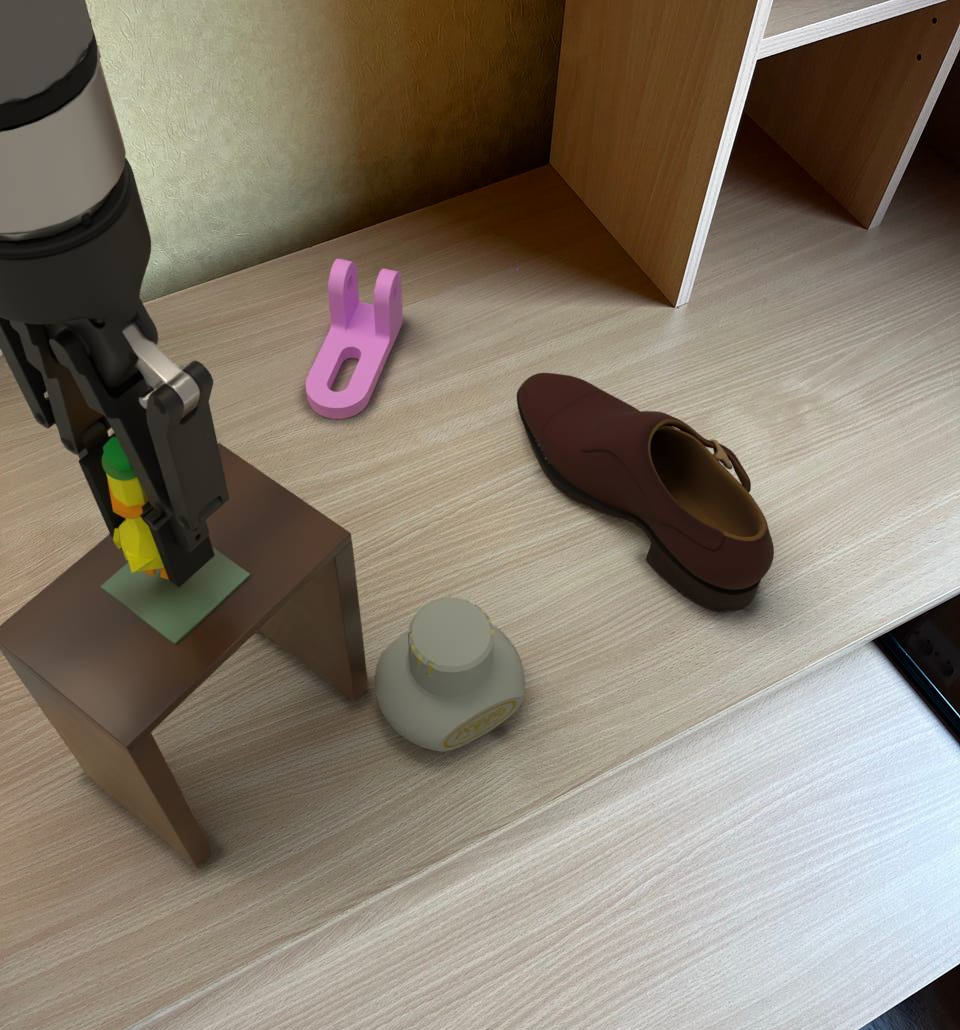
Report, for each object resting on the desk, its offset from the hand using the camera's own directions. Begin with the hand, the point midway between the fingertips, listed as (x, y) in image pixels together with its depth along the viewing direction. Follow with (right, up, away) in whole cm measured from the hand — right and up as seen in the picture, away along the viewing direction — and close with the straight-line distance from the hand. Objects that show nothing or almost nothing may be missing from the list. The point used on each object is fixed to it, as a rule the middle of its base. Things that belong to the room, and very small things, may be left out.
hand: (162, 545), depth 60 cm
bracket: (+6, +20, +39) cm, 44 cm away
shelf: (-1, -12, +20) cm, 24 cm away
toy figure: (-1, -1, +3) cm, 3 cm away
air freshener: (+15, -10, +23) cm, 29 cm away
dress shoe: (+30, +6, +33) cm, 45 cm away
